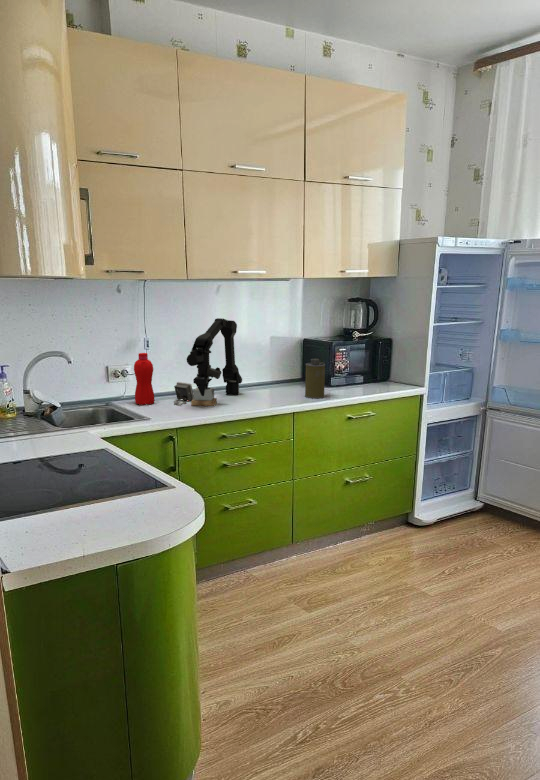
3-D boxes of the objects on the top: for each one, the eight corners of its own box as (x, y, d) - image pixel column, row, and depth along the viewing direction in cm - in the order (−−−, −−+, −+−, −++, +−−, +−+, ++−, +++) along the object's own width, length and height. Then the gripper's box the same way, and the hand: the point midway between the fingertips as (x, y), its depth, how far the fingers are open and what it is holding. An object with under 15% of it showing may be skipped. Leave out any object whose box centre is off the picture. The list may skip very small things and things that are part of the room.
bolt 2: (186, 403, 273) (186, 400, 272) (186, 404, 271) (186, 400, 271) (176, 403, 271) (176, 400, 271) (176, 404, 270) (176, 401, 270)
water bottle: (153, 400, 279) (151, 351, 274) (155, 404, 269) (153, 354, 264) (134, 401, 277) (132, 351, 272) (135, 405, 267) (133, 354, 262)
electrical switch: (195, 400, 280) (193, 382, 277) (188, 403, 275) (186, 385, 273) (181, 398, 285) (179, 381, 282) (174, 401, 280) (172, 383, 278)
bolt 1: (182, 405, 268) (182, 402, 267) (180, 406, 267) (180, 402, 266) (176, 404, 271) (176, 400, 270) (173, 404, 270) (173, 401, 269)
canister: (312, 399, 284) (313, 361, 280) (300, 395, 292) (301, 358, 288) (329, 397, 289) (330, 359, 286) (317, 393, 298) (318, 357, 294)
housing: (196, 397, 273) (196, 386, 272) (214, 398, 272) (214, 387, 271) (193, 400, 268) (193, 388, 266) (212, 400, 267) (211, 389, 266)
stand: (216, 403, 274) (216, 398, 273) (213, 406, 266) (213, 401, 265) (195, 402, 275) (194, 397, 274) (191, 406, 267) (191, 400, 266)
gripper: (216, 366, 256) (216, 399, 260) (223, 360, 275) (223, 391, 278) (192, 366, 257) (193, 398, 261) (201, 360, 276) (202, 390, 279)
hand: (204, 394), depth 269 cm, fingers closed on housing, 5 cm apart
